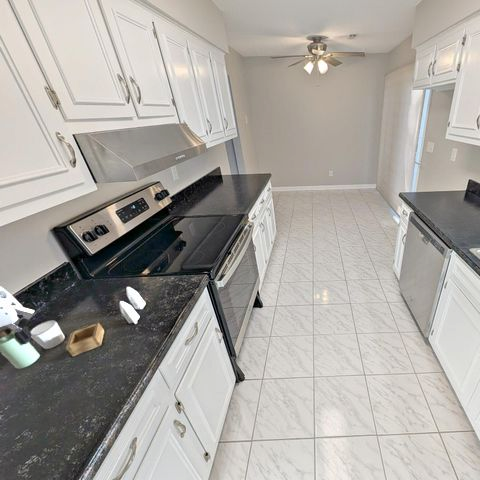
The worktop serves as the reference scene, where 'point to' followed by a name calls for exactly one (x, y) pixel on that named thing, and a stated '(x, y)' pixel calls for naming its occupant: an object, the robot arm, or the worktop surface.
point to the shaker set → (128, 309)
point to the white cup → (47, 334)
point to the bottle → (16, 349)
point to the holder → (85, 339)
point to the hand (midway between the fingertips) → (13, 344)
